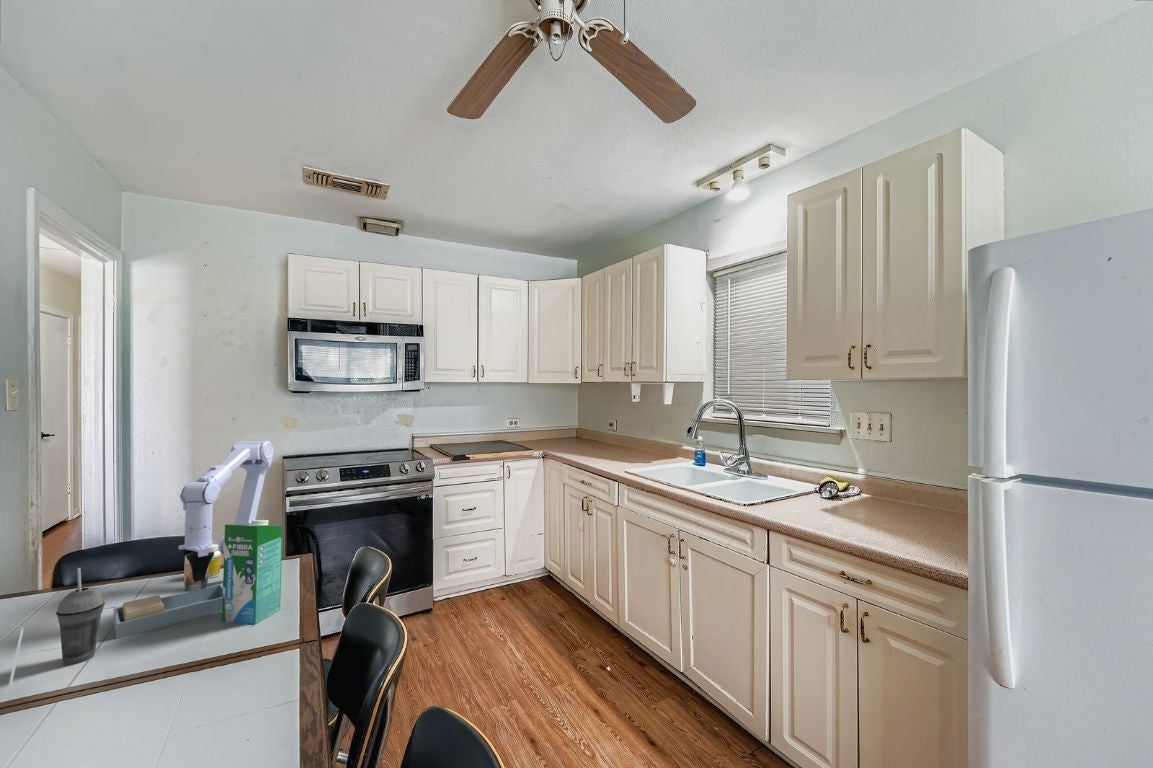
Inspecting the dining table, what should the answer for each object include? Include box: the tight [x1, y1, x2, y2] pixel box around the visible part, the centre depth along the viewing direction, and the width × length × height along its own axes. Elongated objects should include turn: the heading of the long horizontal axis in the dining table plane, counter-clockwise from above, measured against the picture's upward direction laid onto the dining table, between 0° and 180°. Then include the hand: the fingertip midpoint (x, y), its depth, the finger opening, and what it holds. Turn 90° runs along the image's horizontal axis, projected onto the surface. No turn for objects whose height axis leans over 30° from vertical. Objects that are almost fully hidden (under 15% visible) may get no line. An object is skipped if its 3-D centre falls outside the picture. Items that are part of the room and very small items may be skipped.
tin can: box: [183, 552, 209, 592], centre depth 125 cm, size 5×5×9 cm
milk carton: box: [221, 519, 283, 626], centre depth 122 cm, size 9×9×25 cm
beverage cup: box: [55, 567, 106, 666], centre depth 101 cm, size 7×7×20 cm
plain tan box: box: [122, 594, 164, 622], centre depth 117 cm, size 7×9×5 cm
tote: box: [112, 583, 223, 640], centre depth 121 cm, size 22×12×4 cm, turn 137°
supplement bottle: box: [208, 543, 222, 579], centre depth 150 cm, size 5×5×10 cm
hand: (197, 577), depth 125 cm, fingers closed on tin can, 5 cm apart
